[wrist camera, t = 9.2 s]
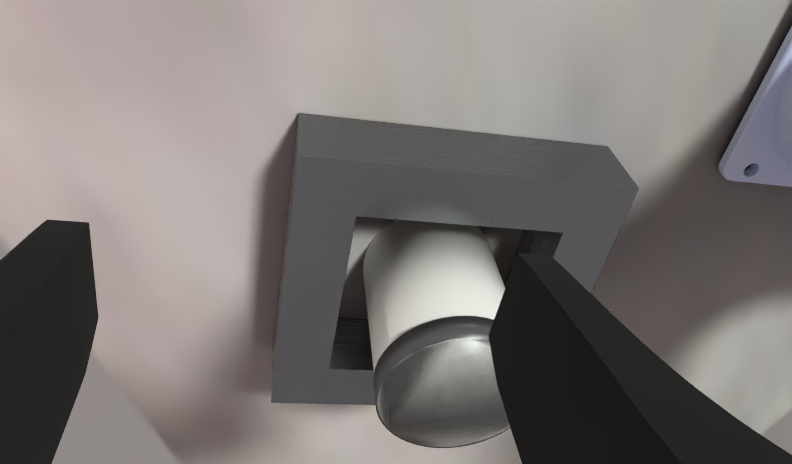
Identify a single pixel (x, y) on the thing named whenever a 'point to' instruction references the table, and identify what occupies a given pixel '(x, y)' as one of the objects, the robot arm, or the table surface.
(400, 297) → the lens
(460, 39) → the table surface
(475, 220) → the grey square frame
